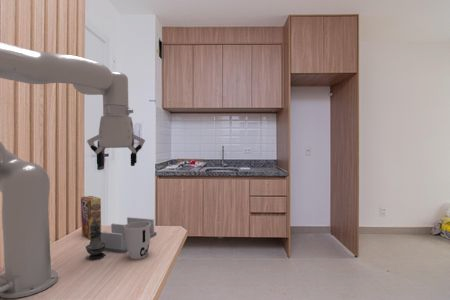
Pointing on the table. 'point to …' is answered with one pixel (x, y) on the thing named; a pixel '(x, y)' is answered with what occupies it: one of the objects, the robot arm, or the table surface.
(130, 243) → the cup
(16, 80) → the robot arm
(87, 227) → the candy box
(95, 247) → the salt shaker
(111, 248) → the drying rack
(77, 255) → the table surface
